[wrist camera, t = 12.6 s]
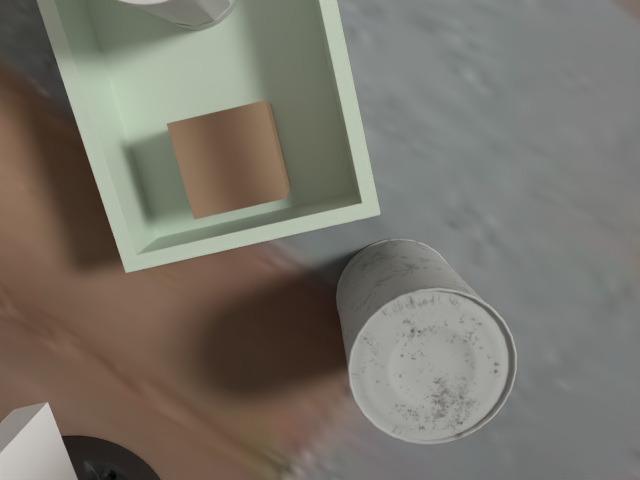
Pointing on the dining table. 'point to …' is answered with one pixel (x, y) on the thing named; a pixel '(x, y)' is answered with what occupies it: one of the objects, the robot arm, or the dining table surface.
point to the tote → (203, 98)
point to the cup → (187, 11)
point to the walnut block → (230, 159)
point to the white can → (421, 344)
